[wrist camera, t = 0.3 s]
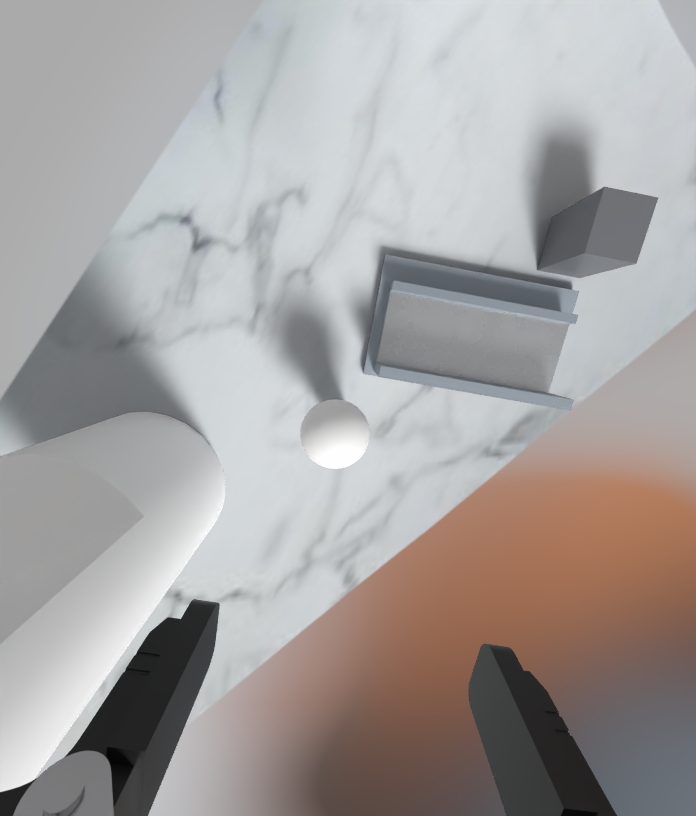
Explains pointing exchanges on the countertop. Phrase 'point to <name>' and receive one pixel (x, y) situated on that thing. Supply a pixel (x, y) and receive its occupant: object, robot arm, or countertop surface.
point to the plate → (470, 342)
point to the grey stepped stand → (471, 292)
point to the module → (597, 233)
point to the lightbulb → (335, 433)
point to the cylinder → (89, 564)
